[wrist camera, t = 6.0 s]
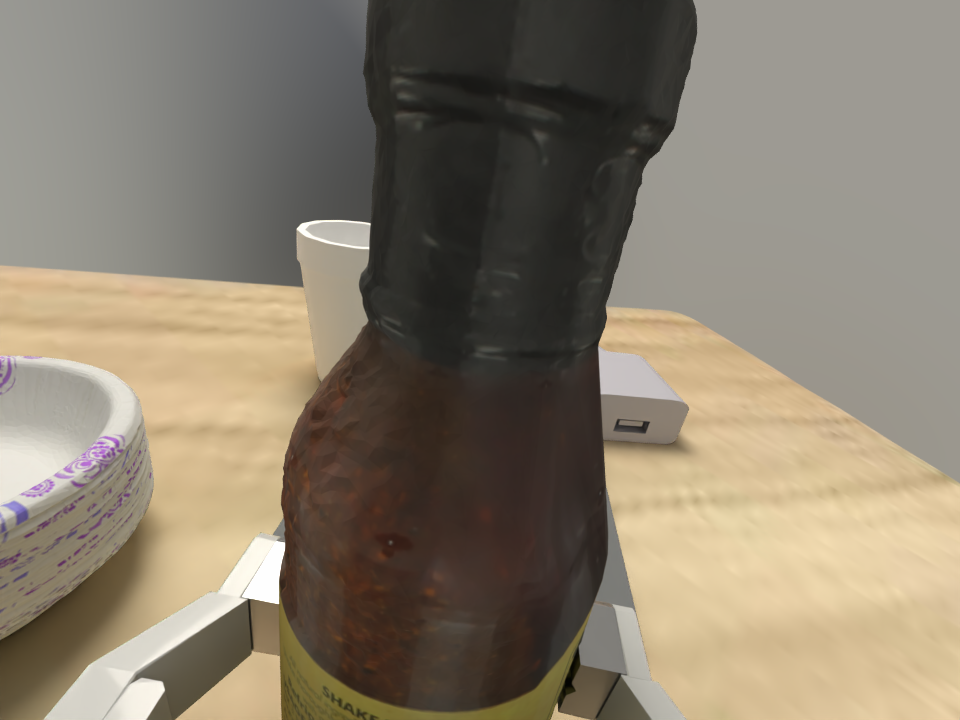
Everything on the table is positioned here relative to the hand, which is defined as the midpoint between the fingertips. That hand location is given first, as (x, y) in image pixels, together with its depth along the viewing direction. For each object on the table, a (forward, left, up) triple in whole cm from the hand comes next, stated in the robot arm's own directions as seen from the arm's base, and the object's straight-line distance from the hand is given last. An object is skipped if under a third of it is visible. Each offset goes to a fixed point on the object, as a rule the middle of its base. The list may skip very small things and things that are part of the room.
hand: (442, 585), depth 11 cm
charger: (+12, +34, -12) cm, 38 cm away
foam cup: (-12, +29, -12) cm, 33 cm away
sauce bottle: (0, -1, -9) cm, 9 cm away
